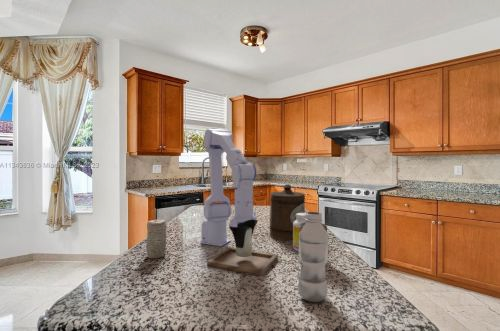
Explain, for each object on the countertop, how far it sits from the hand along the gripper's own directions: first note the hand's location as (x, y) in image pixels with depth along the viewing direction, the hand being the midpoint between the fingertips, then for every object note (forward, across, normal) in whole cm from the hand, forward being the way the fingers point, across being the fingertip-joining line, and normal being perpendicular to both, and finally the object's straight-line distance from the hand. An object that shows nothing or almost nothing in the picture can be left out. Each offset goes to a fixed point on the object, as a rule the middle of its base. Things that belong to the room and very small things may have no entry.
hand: (243, 244), depth 83 cm
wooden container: (+6, +35, -4) cm, 36 cm away
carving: (+6, -7, +29) cm, 30 cm away
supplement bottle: (+6, +20, -14) cm, 25 cm away
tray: (+6, 0, 0) cm, 6 cm away
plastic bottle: (+6, -13, -24) cm, 28 cm away
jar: (+6, +9, -20) cm, 23 cm away
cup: (+3, 0, 0) cm, 3 cm away
